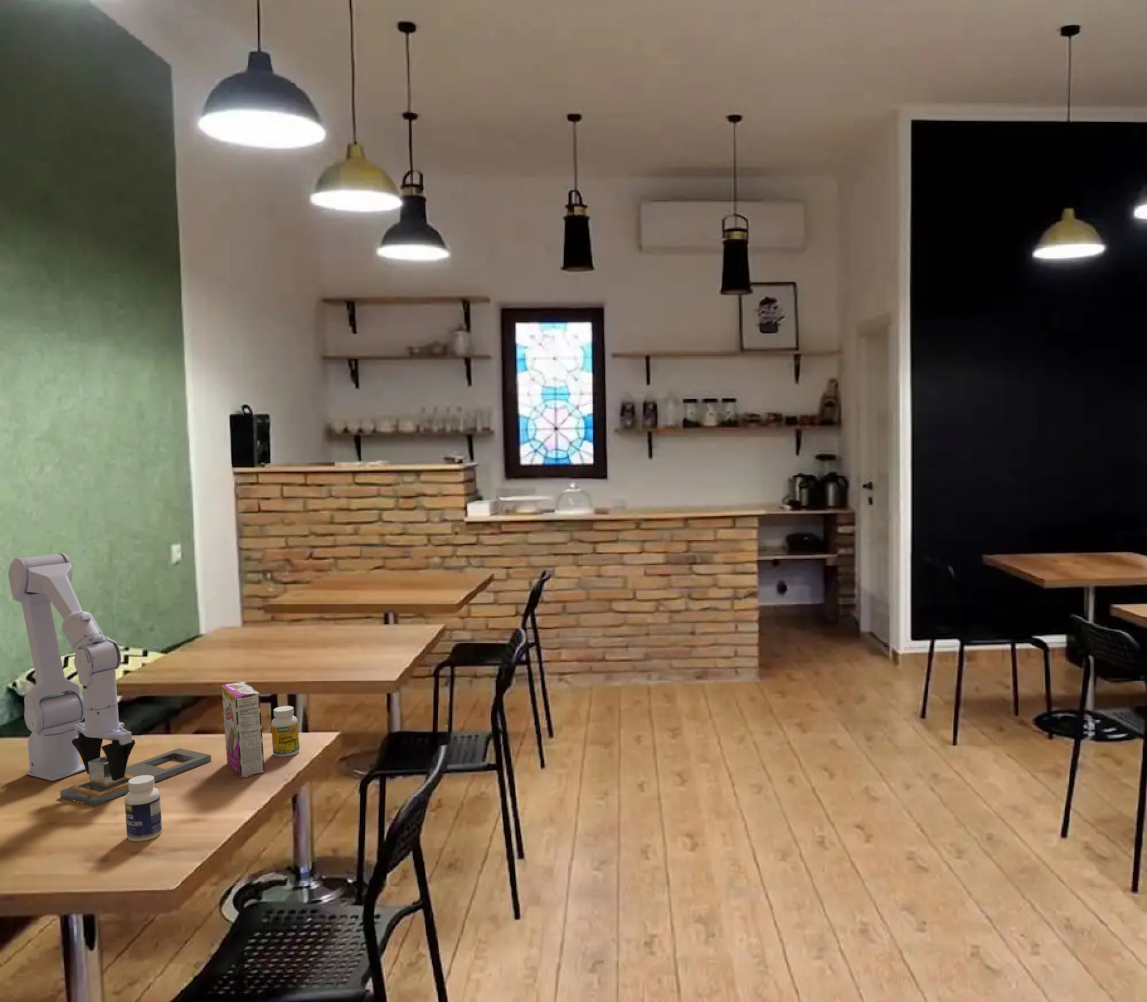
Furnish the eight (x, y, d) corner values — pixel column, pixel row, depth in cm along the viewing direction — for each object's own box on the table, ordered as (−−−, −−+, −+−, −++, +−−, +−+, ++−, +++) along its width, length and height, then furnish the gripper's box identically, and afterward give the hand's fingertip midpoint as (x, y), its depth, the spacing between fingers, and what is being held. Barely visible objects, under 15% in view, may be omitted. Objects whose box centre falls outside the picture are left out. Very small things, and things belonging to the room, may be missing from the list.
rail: (60, 797, 176) (60, 789, 176) (179, 753, 198) (178, 746, 198) (93, 806, 171) (92, 798, 171) (211, 760, 193) (210, 753, 193)
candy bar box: (225, 763, 192) (220, 684, 191) (250, 757, 195) (245, 680, 193) (239, 779, 183) (235, 696, 181) (265, 773, 185) (261, 691, 184)
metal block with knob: (90, 792, 178) (88, 760, 178) (111, 784, 182) (109, 752, 182) (105, 796, 176) (103, 763, 175) (126, 787, 180) (124, 755, 179)
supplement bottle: (295, 747, 200) (292, 703, 200) (302, 753, 196) (300, 708, 195) (269, 752, 197) (267, 707, 197) (277, 759, 193) (274, 713, 192)
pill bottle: (119, 841, 155) (115, 784, 155) (140, 828, 161) (136, 772, 160) (149, 843, 154) (145, 785, 154) (168, 829, 160) (165, 773, 159)
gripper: (144, 704, 177) (148, 774, 178) (96, 695, 184) (101, 763, 185) (110, 714, 171) (114, 787, 172) (62, 705, 178) (67, 774, 179)
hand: (105, 775), depth 178 cm, fingers open, 7 cm apart
